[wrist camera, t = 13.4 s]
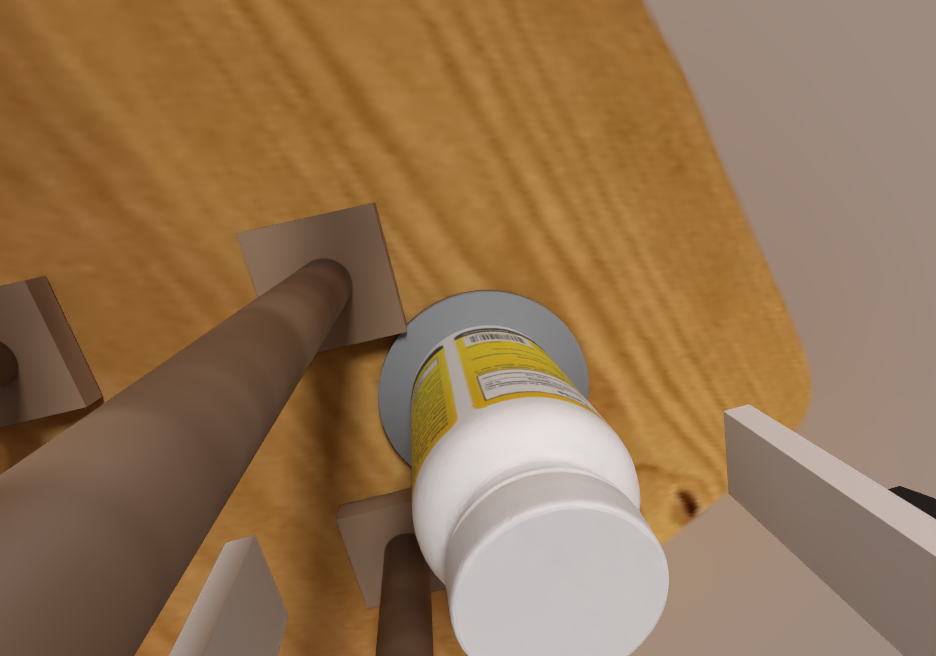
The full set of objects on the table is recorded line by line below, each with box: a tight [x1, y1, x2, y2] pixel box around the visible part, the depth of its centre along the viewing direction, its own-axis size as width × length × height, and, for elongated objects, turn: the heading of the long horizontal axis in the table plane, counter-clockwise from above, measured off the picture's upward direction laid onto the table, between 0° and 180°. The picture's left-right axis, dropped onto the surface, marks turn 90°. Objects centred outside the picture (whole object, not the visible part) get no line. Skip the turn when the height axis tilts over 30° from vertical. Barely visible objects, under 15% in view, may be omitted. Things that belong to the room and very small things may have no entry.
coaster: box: [378, 290, 589, 466], centre depth 21 cm, size 9×9×1 cm
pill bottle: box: [411, 325, 669, 656], centre depth 15 cm, size 6×6×11 cm
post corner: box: [0, 203, 407, 656], centre depth 11 cm, size 5×5×18 cm
